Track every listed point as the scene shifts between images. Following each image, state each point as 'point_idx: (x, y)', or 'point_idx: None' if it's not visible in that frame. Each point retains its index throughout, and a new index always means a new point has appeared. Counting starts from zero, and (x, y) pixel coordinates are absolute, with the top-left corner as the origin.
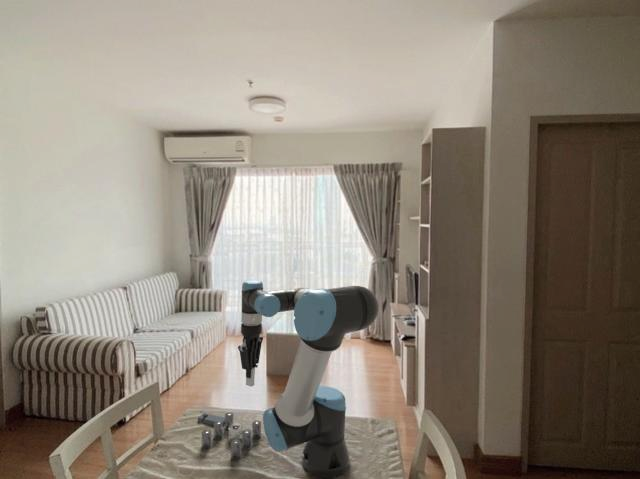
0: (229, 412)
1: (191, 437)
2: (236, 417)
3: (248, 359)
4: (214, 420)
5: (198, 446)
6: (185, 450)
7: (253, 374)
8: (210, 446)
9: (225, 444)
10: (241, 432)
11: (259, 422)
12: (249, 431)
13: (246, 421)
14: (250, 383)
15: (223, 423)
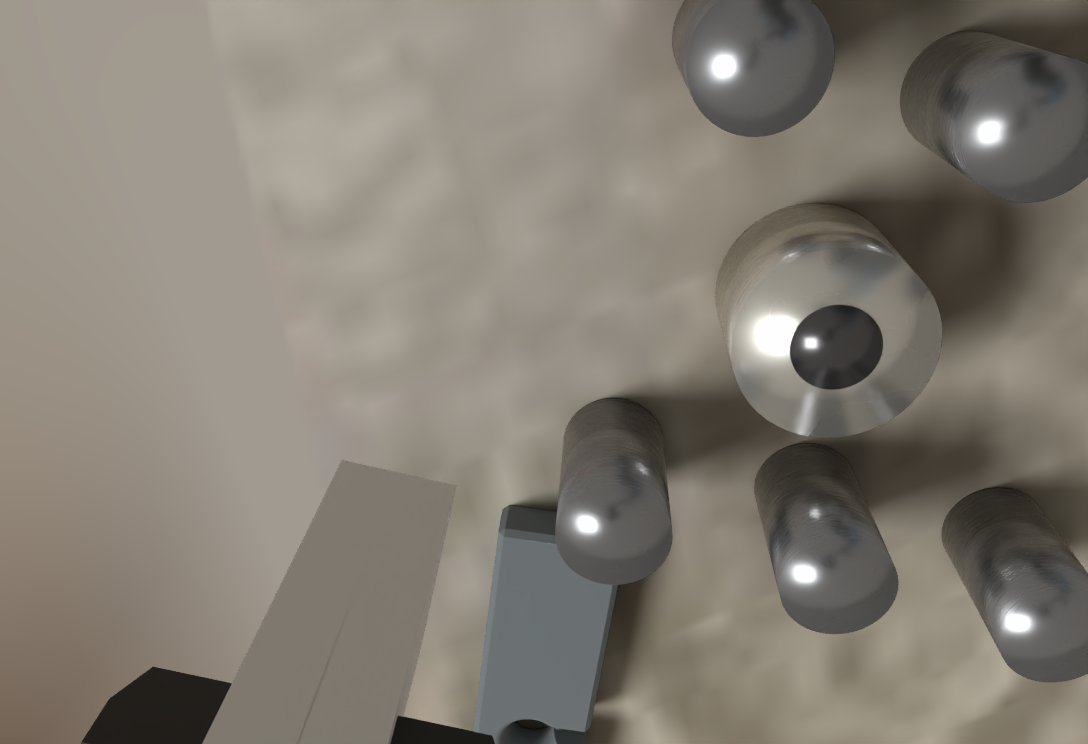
0: (565, 550)
1: (849, 709)
2: (390, 437)
3: None
4: (586, 634)
5: None
6: None
7: (301, 722)
8: (1002, 492)
9: None
10: (863, 238)
11: (739, 18)
12: (1019, 93)
13: (434, 292)
14: (432, 579)
15: None
